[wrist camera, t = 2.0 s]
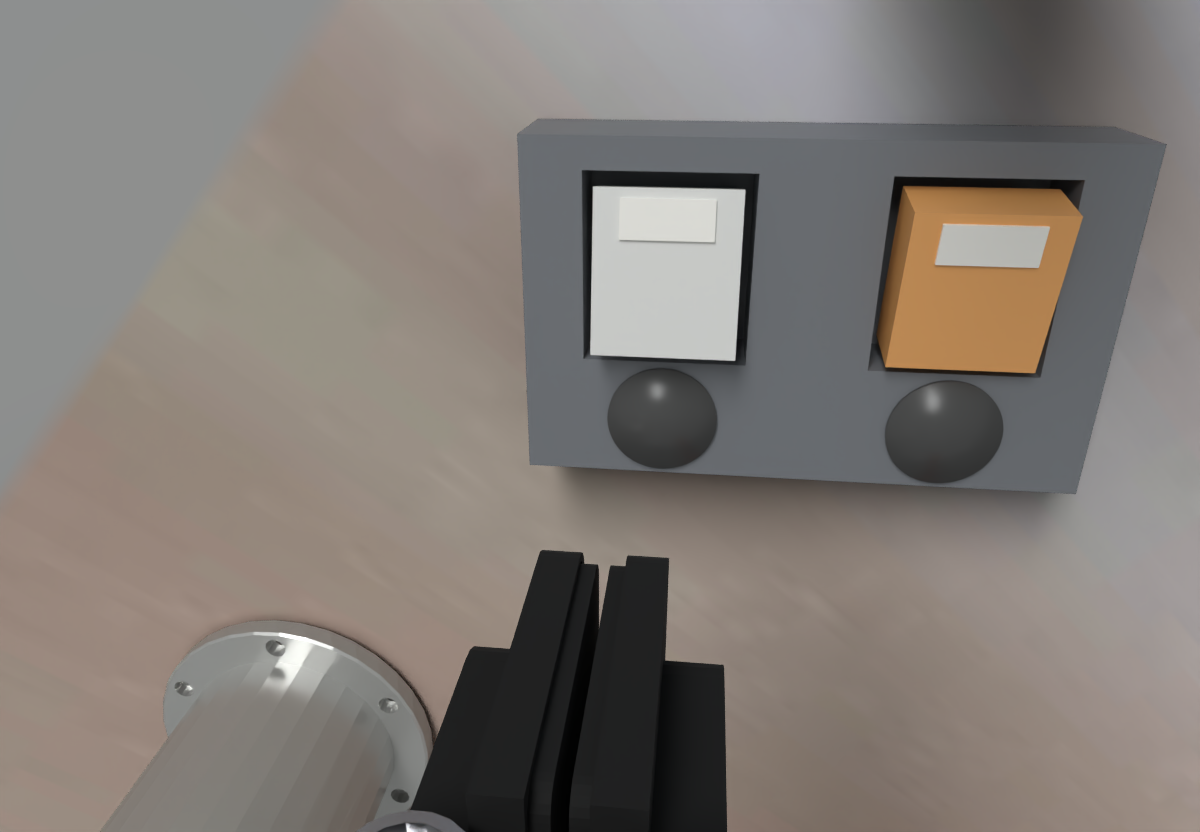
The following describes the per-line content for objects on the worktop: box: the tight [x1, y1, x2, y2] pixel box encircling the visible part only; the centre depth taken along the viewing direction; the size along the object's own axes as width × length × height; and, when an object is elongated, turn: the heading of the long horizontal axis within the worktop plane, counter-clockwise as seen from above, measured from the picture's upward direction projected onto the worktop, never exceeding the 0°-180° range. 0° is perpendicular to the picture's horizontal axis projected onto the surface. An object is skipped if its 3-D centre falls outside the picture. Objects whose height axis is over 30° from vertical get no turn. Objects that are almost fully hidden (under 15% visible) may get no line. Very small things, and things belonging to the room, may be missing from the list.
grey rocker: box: [590, 185, 745, 361], centre depth 28 cm, size 5×4×2 cm
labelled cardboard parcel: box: [876, 186, 1083, 373], centre depth 27 cm, size 5×4×2 cm
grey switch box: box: [517, 119, 1167, 494], centre depth 29 cm, size 11×18×4 cm, turn 90°
